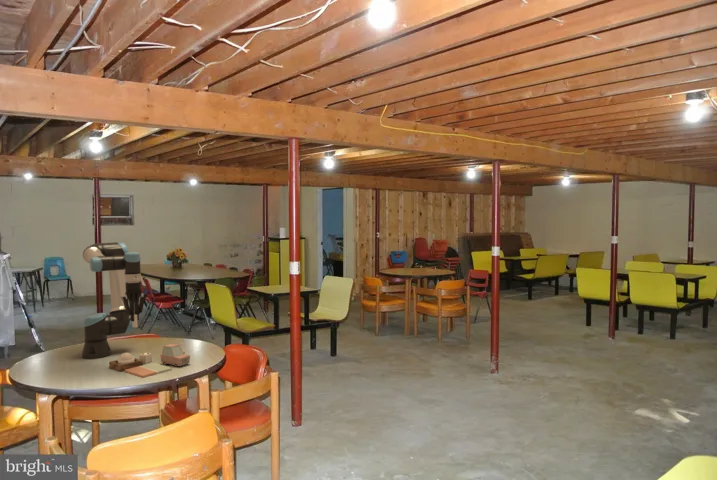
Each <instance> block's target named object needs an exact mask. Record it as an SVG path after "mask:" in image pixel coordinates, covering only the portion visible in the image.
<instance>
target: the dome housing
mask: <svg viewBox="0 0 717 480" xmlns="http://www.w3.org/2000/svg"><path fill="white" fill-rule="evenodd" d="M108 362H109V363H108V365H109V367H108V368H109V369H112V370H115V371H118V372H125V370H126V369H130V368H134V367H138V366H142V365H144V363H143V360H140V359H139V358H135V357H134V362H132V363H127V364H123V365H122V364H119V363H118V359H117V360H112V361H111V360H110V361H108Z"/></svg>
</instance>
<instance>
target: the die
mask: <svg viewBox="0 0 717 480" xmlns="http://www.w3.org/2000/svg"><path fill="white" fill-rule="evenodd" d="M152 355H153V354H152V353H151V352H144V353H140V354H139V356H138V357H139V358H138V359H140V360H143V364H144V365H146V364H150V363H153V356H152Z"/></svg>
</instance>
